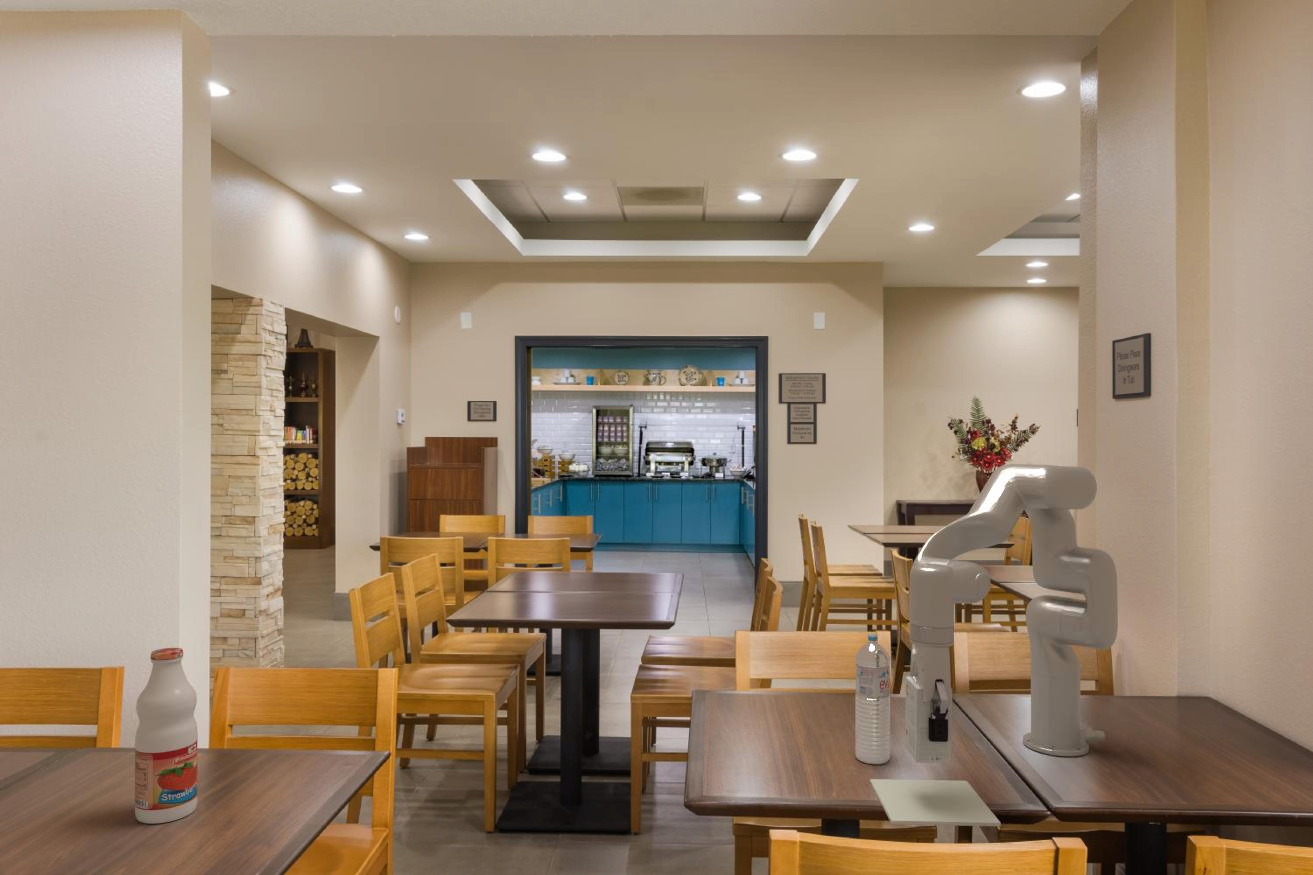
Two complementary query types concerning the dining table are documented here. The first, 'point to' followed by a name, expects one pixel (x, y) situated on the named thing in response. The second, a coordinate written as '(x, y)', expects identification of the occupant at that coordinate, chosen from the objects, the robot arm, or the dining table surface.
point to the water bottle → (872, 703)
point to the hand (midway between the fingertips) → (931, 732)
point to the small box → (924, 727)
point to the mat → (932, 803)
